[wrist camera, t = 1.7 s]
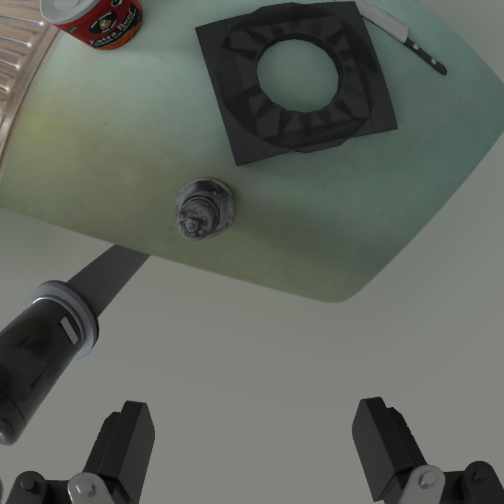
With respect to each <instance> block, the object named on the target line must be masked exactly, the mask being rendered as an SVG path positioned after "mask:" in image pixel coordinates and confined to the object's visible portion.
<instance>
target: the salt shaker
mask: <svg viewBox="0 0 504 504" xmlns="http://www.w3.org/2000/svg"><path fill="white" fill-rule="evenodd" d="M175 209H176V216H177V220H176V224H177V229H178V231H179V233H180V234H181V235H182V236H183V237H184V238H186V239H188V240H192V241H198V240H201V239H204V238H206V237H213V236H216V235H219V234H221V233H222V232H223V231H225V230H226V229H227V228H228V227H229V225H230V224H231V222H232V220H233V218H234V214H235V201H234V198H233V195H232V193H231V191H230V189H229V188H228V187H227V186H226V185H225V184H224V183H223V182H221V181H219V180H217V179H211V178H200V179H196V180H193V181H191V182H189V183H188V184H187V185H185V186H184V187H183V189H182V190H181V191H180V192H179V195H178V197H177V199H176V206H175Z"/></svg>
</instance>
